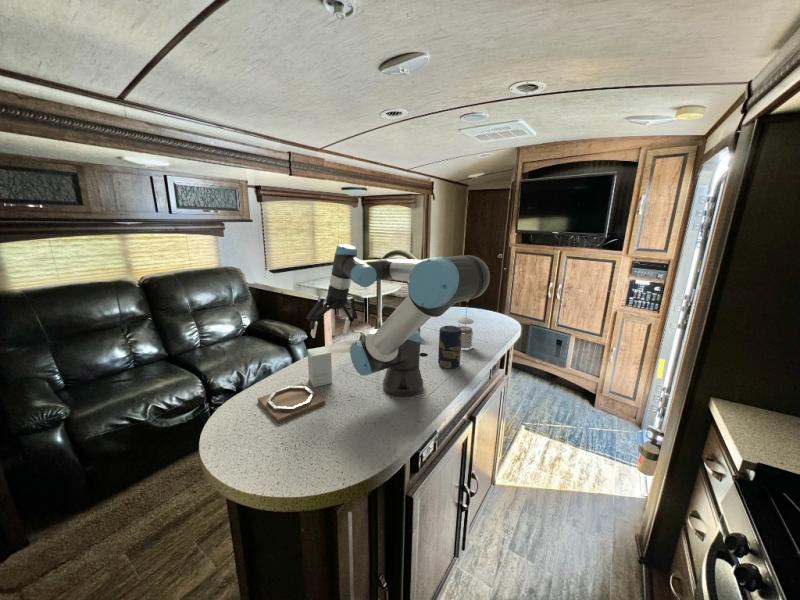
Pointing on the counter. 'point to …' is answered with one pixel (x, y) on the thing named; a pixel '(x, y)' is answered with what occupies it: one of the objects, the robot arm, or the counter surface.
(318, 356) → the supplement box
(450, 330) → the canister
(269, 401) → the metal ring
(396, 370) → the robot arm
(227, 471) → the counter surface
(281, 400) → the walnut board
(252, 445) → the counter surface
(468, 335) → the french press
